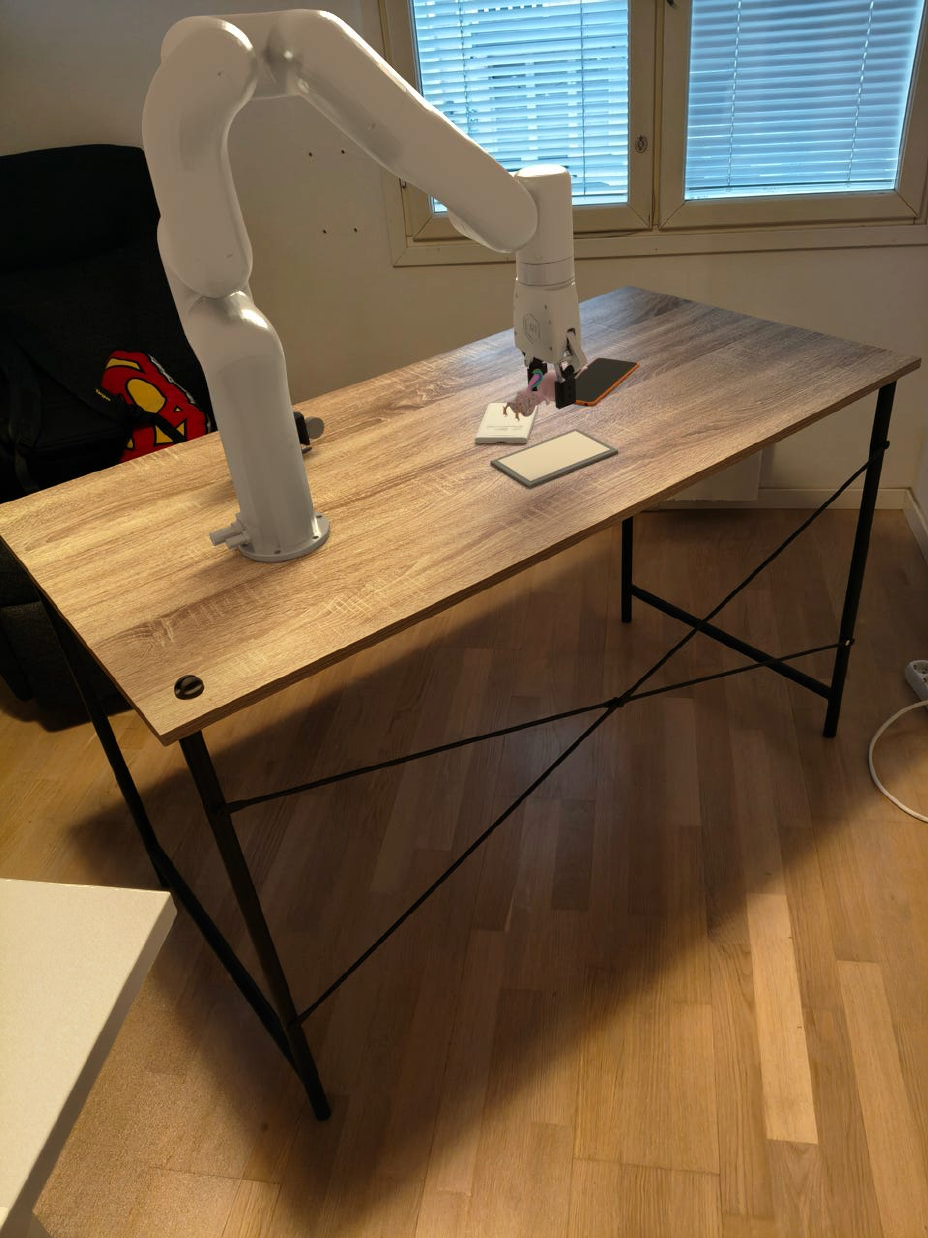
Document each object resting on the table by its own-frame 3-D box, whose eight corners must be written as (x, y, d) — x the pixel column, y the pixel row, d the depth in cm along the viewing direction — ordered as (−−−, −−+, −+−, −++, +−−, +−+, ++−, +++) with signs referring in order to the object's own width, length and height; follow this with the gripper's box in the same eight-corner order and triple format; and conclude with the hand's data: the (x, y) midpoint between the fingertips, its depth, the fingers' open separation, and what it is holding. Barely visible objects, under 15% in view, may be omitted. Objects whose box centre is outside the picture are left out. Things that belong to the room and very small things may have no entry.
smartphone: (640, 366, 166) (640, 361, 166) (593, 408, 154) (593, 403, 154) (597, 360, 170) (597, 355, 170) (547, 401, 158) (547, 395, 158)
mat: (529, 487, 134) (529, 484, 134) (490, 463, 141) (490, 460, 141) (618, 452, 140) (618, 449, 140) (576, 430, 147) (576, 427, 147)
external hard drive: (538, 411, 156) (527, 446, 146) (489, 412, 158) (475, 446, 148) (537, 402, 155) (526, 436, 145) (488, 402, 157) (474, 436, 147)
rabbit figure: (528, 434, 131) (600, 381, 137) (520, 396, 127) (595, 343, 133) (497, 422, 135) (569, 371, 141) (488, 385, 131) (562, 334, 137)
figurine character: (300, 445, 156) (226, 474, 147) (295, 400, 152) (218, 426, 143) (329, 455, 153) (254, 485, 143) (324, 408, 149) (246, 436, 139)
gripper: (485, 264, 130) (496, 389, 140) (561, 291, 117) (567, 426, 128) (530, 250, 132) (538, 374, 143) (609, 275, 120) (611, 409, 131)
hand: (552, 397), depth 135 cm, fingers closed on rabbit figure, 5 cm apart
